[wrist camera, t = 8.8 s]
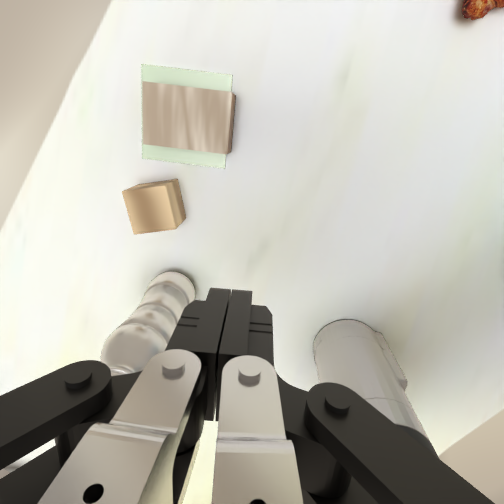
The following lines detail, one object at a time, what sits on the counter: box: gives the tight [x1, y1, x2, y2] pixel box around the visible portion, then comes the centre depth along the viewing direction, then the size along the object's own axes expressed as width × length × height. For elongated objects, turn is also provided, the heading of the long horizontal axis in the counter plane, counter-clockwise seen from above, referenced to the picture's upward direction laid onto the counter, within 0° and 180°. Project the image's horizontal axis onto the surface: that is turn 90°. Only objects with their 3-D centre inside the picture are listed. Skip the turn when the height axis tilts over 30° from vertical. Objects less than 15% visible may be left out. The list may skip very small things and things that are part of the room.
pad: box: [141, 64, 233, 169], centre depth 37 cm, size 10×10×1 cm
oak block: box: [122, 179, 186, 234], centre depth 39 cm, size 5×5×5 cm
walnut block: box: [142, 81, 236, 154], centre depth 35 cm, size 4×6×9 cm
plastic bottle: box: [101, 272, 195, 376], centre depth 36 cm, size 6×7×20 cm
